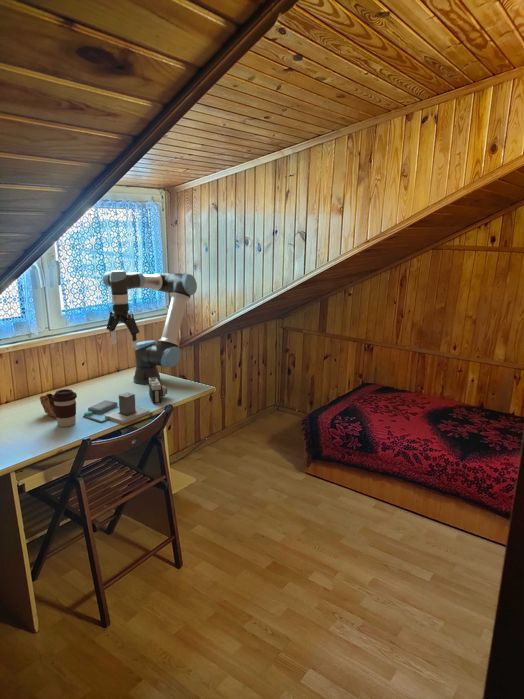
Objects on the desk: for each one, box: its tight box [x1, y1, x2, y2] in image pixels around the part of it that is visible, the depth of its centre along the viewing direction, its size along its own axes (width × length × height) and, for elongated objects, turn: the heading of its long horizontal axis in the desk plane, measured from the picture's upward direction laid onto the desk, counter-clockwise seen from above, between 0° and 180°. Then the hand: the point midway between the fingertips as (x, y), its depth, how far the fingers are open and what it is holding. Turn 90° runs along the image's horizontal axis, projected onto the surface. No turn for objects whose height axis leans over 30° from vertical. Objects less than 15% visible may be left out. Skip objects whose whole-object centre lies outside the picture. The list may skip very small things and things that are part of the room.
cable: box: [82, 411, 111, 424], centre depth 210 cm, size 5×13×1 cm, turn 57°
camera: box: [148, 377, 168, 405], centre depth 236 cm, size 14×8×10 cm, turn 20°
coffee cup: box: [52, 388, 78, 428], centre depth 201 cm, size 10×10×15 cm
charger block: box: [118, 391, 136, 416], centre depth 213 cm, size 5×5×10 cm
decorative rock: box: [39, 393, 57, 419], centre depth 212 cm, size 12×6×11 cm, turn 63°
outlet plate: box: [104, 405, 151, 425], centre depth 214 cm, size 16×12×2 cm
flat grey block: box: [87, 399, 118, 415], centre depth 222 cm, size 12×7×3 cm, turn 158°
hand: (123, 345), depth 229 cm, fingers open, 13 cm apart
